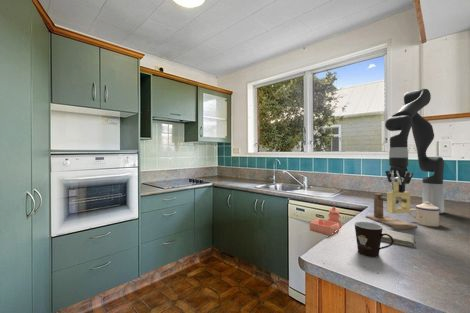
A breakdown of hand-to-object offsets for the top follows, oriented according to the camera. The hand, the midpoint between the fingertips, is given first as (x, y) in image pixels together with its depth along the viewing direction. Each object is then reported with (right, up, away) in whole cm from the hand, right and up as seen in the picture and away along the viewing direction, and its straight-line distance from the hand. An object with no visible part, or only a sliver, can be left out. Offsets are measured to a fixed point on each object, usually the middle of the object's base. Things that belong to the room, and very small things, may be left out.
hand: (398, 191), depth 108 cm
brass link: (0, -10, 0) cm, 10 cm away
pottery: (-36, -18, -4) cm, 40 cm away
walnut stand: (-1, -17, +4) cm, 18 cm away
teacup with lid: (+15, -17, +4) cm, 23 cm away
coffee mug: (-33, -18, -31) cm, 48 cm away
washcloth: (-16, -18, -15) cm, 28 cm away
